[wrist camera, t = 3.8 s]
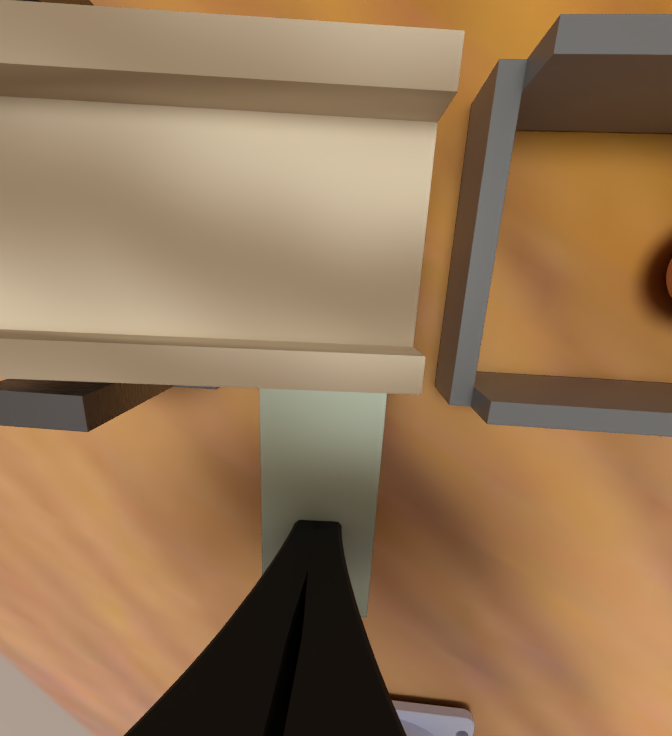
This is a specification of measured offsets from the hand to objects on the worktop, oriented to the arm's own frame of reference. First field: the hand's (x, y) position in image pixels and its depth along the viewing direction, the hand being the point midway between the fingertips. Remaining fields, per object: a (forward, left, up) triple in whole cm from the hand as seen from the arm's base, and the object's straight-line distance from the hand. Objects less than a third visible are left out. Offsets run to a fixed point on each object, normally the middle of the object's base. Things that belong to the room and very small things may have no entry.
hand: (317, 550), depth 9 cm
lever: (+4, +6, 0) cm, 7 cm away
